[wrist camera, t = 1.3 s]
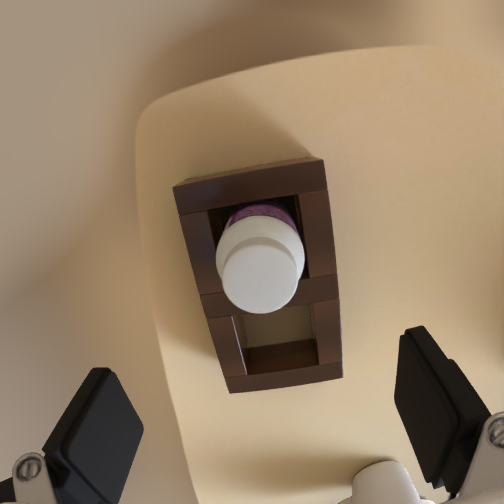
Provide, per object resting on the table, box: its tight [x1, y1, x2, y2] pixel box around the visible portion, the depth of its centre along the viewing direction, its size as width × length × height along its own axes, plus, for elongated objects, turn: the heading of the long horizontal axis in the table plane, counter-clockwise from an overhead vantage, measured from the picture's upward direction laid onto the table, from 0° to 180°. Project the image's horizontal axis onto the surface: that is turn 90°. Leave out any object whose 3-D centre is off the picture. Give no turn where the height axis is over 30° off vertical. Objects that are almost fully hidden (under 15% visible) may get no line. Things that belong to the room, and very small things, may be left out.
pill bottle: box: [216, 198, 305, 313], centre depth 21 cm, size 5×5×10 cm
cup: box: [338, 461, 422, 504], centre depth 33 cm, size 14×10×10 cm
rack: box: [173, 156, 343, 394], centre depth 25 cm, size 18×10×4 cm, turn 11°
